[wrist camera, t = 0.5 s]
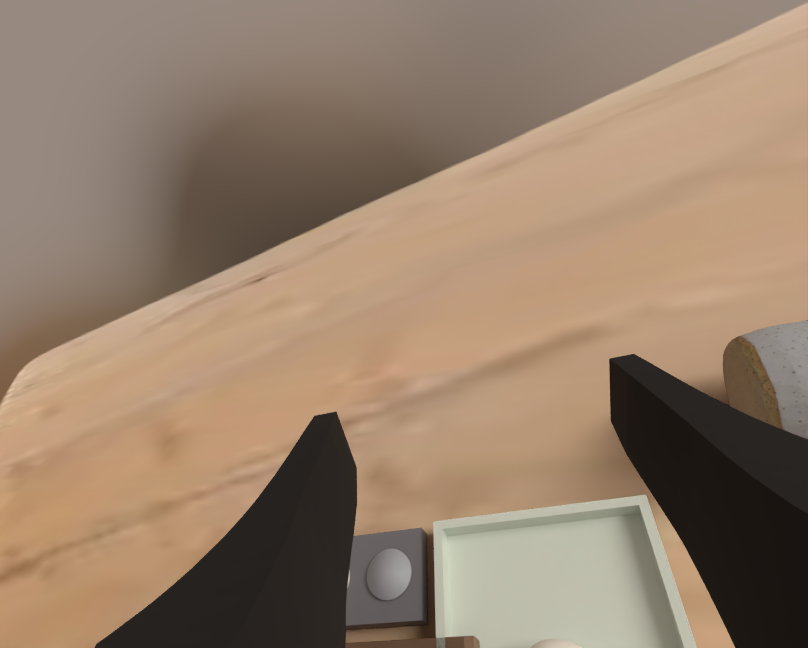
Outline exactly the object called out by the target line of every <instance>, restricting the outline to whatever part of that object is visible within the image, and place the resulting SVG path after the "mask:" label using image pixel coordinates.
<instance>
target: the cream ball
mask: <svg viewBox="0 0 808 648" xmlns="http://www.w3.org/2000/svg"><path fill="white" fill-rule="evenodd" d="M530 648H581V647H580V646H578V645H577V644H575V643H573V642H570V641H567V640H564V639H556V638H552V639H546V640H542V641H540V642H538V643H536V644H534V645H533V646H531V647H530Z"/></svg>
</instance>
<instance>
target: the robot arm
mask: <svg viewBox="0 0 808 648" xmlns="http://www.w3.org/2000/svg"><path fill="white" fill-rule="evenodd" d="M609 364H610V406H611V422H612V424H613V426H614V429H615V431H616V433H617V435H618V437H619V440H620V442H621V444H622V446H623V448H624V450H625V452H626V454H627V456H628V457H629V459H630V460H631V462H632V464H633V465H634V467H635V468H636V470H637V471H638V473H639V475H640V476H641V478H642V479H643V481H644V482H645V484H646V485H647V487H648V489H649V490H650V492H651V493H652V495H653V496H654V498H655V499H656V501H657V502H658V504H659V506H660V507H661V509H662V510H663V512H664V513H665V515H666V516H667V518H668V519H669V521H670V522H671V524H672V526H673V527H674V529H675V530H676V532H677V534H678V535H679V537H680V539H681V540H682V542H683V544H684V545H685V547H686V549H687V551H688V553H689V555H690V557H691V559H692V561H693V563H694V565H695V566H696V568H697V570H698V572H699V574H700V576H701V578H702V580H703V582H704V584H705V586H706V588H707V590H708V592H709V594H710V596H711V598H712V600H713V602H714V604H715V606H716V608H717V610H718V612H719V614H720V616H721V618H722V620H723V622H724V624H725V627H726V629H727V631H728V633H729V635H730V637H731V639H732V641H733V644H734V646H735V648H808V439H806V438H803V437H800V436H798V435H795V434H793V433H790V432H788V431H785V430H783V429H780V428H778V427H775V426H773V425H770V424H768V423H765V422H763V421H761V420H758V419H756V418H754V417H752V416H749V415H747V414H745V413H743V412H741V411H739V410H737V409H735V408H733V407H730V406H728V405H726V404H724V403H722V402H720V401H718V400H716V399H714V398H712V397H710V396H708V395H707V394H705V393H703V392H701V391H699V390H697V389H695V388H693V387H692V386H690V385H688V384H686V383H684V382H683V381H681V380H679V379H677V378H675V377H674V376H672V375H670V374H668V373H667V372H665V371H663V370H661V369H660V368H658V367H656V366H654V365H653V364H651V363H649V362H647V361H646V360H644V359H642V358H640V357H638V356H637V355H635V354H631V355H626V356H621V357H616V358H611V359H609ZM356 507H357V468H356V465H355V462H354V459H353V456H352V454H351V451H350V448H349V445H348V443H347V440H346V437H345V434H344V431H343V429H342V426H341V423H340V420H339V418H338V415H337V412H332V413H327V414H322V415H317V416H314V417H313V419H312V420H311V422H310V423H309V425H308V426H307V428H306V429H305V431H304V432H303V434H302V435H301V437H300V439H299V440H298V442H297V443H296V445H295V446H294V448H293V449H292V451H291V452H290V454H289V455H288V457H287V458H286V460H285V461H284V463H283V464H282V466H281V467H280V468H279V470H278V471H277V473H276V474H275V476H274V477H273V478H272V480H271V481H270V482H269V484H268V485H267V486H266V488H265V489H264V490H263V492H262V493H261V494H260V496H259V497H258V498H257V500H256V501H255V502H254V503H253V505H252V506H251V507H250V508H249V509H248V511H247V512H246V513H245V514H244V515H243V517H242V518H241V519H240V520H239V521H238V522H237V523H236V524H235V525H234V527H233V528H232V529H231V530H230V531H229V532H228V533H227V534H226V535H225V536H224V537H223V538H222V539H221V540H220V541H219V542H218V543H217V544H216V545H215V546H214V547H213V548H212V549H211V550H210V551H209V552H208V553H207V554H206V555H205V556H204V557H203V558H202V559H201V560H200V561H199V562H198V563H197V564H196V565H195V566H194V567H193V568H192V569H191V570H190V571H188V572H187V573H186V574H185V575H184V576H183V577H182V578H181V579H179V580H178V581H177V582H176V583H175V584H174V585H173V586H171V587H170V588H169V589H168V590H167V591H165V592H164V593H163V594H162V595H161V596H159V597H158V598H157V599H156V600H155V601H153V602H152V603H151V604H150V605H148V606H147V607H146V608H145V609H143V610H142V611H141V612H139V613H138V614H137V615H135V616H134V617H133V618H131V619H130V620H129V621H127V622H126V623H125V624H123V625H122V626H121V627H119V628H118V629H117V630H115V631H114V632H113V633H111V634H110V635H109V636H107V637H106V638H104V639H103V640H102V641H100V642H99V643H97V644H96V646H95V648H345V641H346V599H347V586H348V577H349V568H350V560H351V551H352V543H353V534H354V525H355V516H356Z"/></svg>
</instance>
